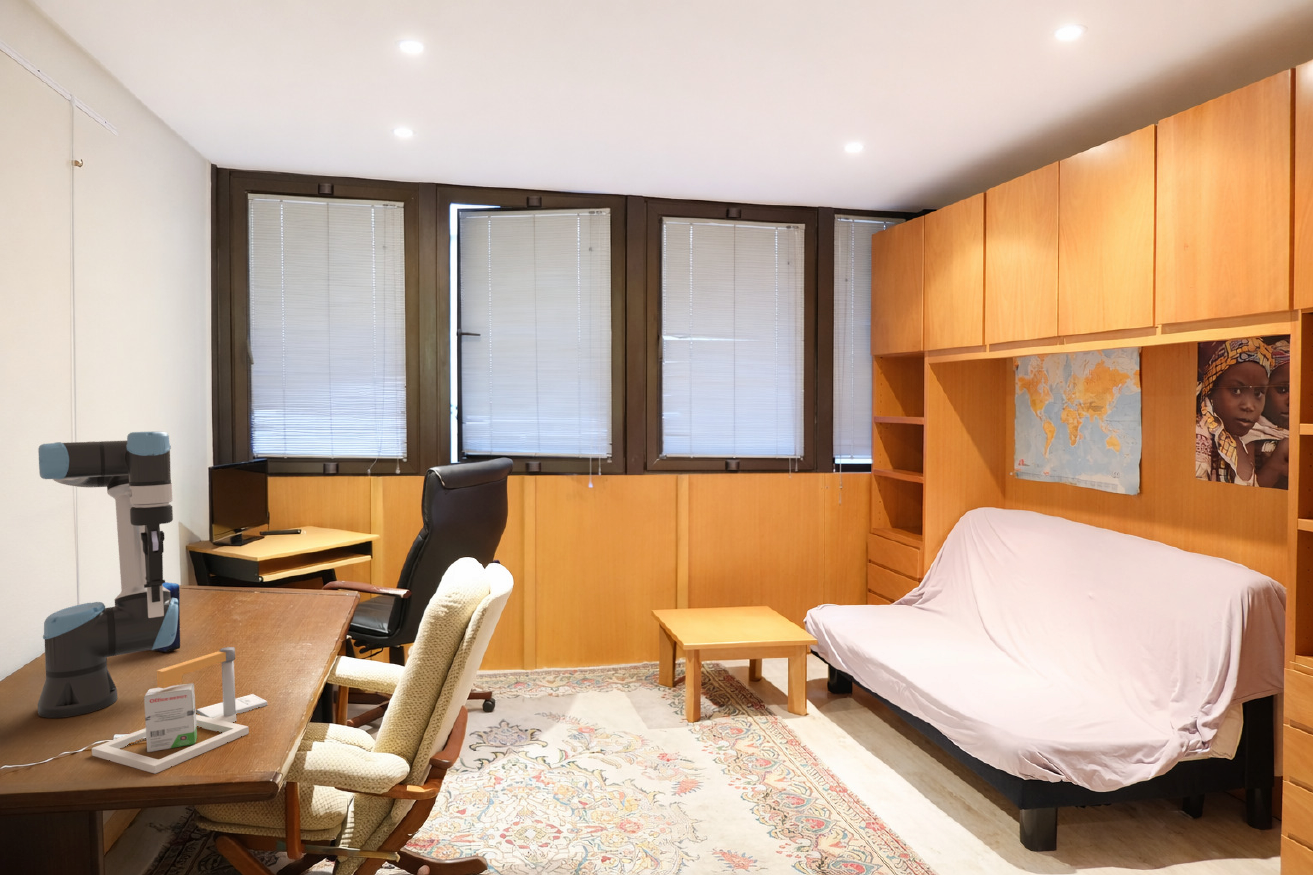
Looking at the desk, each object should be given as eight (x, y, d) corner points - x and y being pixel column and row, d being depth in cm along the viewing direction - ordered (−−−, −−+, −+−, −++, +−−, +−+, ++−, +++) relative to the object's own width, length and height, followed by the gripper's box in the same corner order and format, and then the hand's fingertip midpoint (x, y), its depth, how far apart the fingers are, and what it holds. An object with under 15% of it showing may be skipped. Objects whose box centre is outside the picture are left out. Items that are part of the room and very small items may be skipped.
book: (136, 648, 230) (133, 580, 230) (154, 643, 235) (152, 577, 234) (165, 655, 224) (162, 585, 223) (184, 650, 228) (181, 581, 228)
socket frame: (92, 755, 159) (89, 689, 158) (205, 712, 181) (202, 654, 180) (155, 773, 150) (152, 703, 150) (265, 725, 172) (263, 664, 172)
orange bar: (155, 686, 162) (155, 668, 162) (229, 662, 177) (228, 646, 177) (165, 688, 161) (164, 670, 160) (238, 664, 175) (237, 647, 175)
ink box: (198, 735, 167) (195, 681, 167) (195, 744, 163) (192, 688, 162) (150, 743, 164) (148, 687, 164) (146, 752, 159) (143, 695, 159)
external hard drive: (196, 715, 180) (252, 699, 190) (210, 724, 175) (267, 707, 184) (195, 708, 180) (252, 692, 190) (210, 717, 175) (267, 700, 184)
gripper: (127, 503, 168) (132, 613, 169) (131, 509, 158) (137, 625, 159) (168, 500, 173) (173, 607, 174) (175, 506, 162) (180, 619, 163)
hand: (156, 616), depth 166 cm, fingers closed
